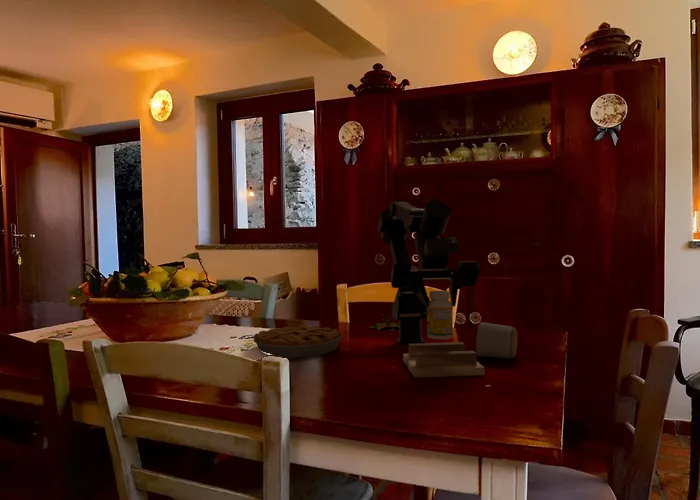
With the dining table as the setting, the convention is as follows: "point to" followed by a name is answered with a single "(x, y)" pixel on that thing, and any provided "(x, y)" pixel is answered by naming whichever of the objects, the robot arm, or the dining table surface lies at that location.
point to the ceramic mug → (496, 341)
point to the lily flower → (385, 324)
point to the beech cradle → (442, 360)
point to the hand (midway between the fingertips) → (440, 305)
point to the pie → (298, 341)
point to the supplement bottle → (439, 316)
